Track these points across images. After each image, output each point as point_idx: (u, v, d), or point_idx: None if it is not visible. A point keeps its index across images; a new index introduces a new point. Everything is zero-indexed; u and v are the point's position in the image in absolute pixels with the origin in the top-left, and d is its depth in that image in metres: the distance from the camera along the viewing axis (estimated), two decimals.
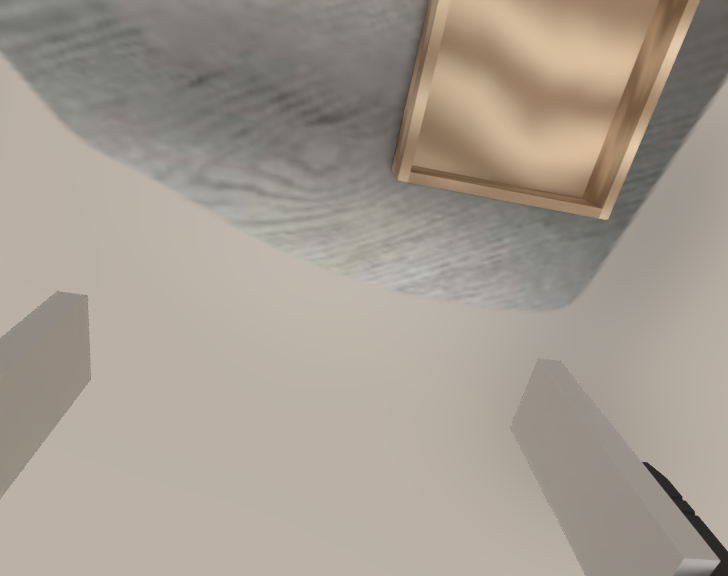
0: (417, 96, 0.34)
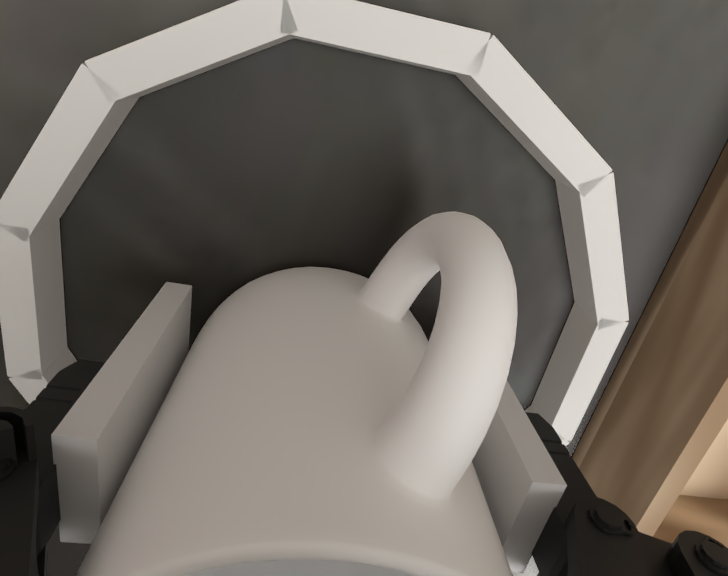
0: None
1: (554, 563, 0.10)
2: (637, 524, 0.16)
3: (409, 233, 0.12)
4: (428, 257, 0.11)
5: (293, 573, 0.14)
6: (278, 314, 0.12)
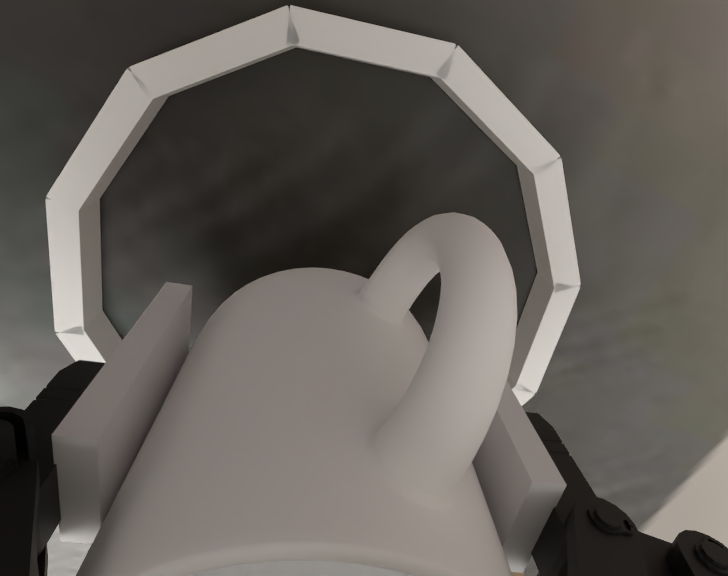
0: None
1: (554, 563, 0.10)
2: None
3: (409, 234, 0.12)
4: (428, 258, 0.11)
5: (293, 573, 0.14)
6: (279, 316, 0.12)
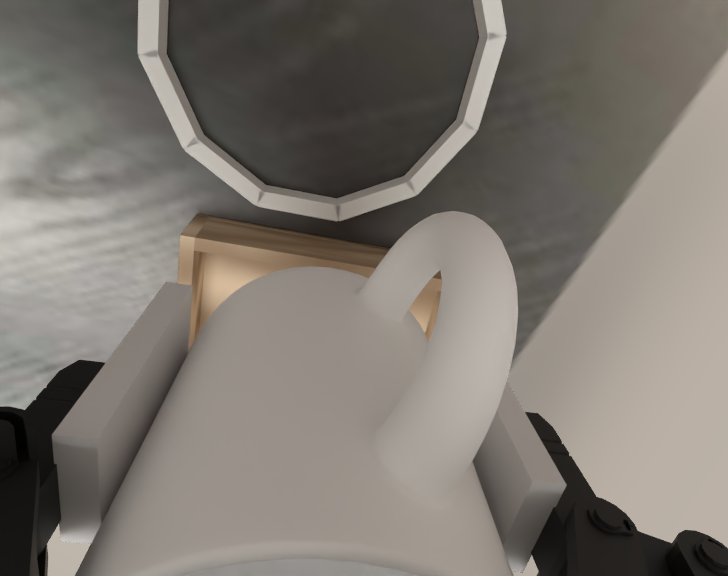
0: None
1: (554, 563, 0.10)
2: (227, 243, 0.27)
3: (409, 233, 0.12)
4: (428, 257, 0.11)
5: (293, 573, 0.14)
6: (279, 314, 0.12)
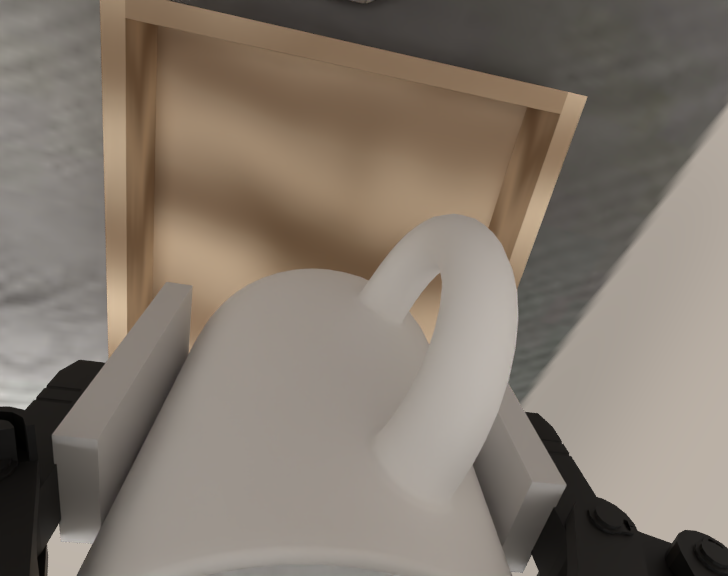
0: (108, 297, 0.20)
1: (554, 563, 0.10)
2: None
3: (410, 235, 0.12)
4: (429, 259, 0.11)
5: (293, 575, 0.14)
6: (278, 317, 0.12)
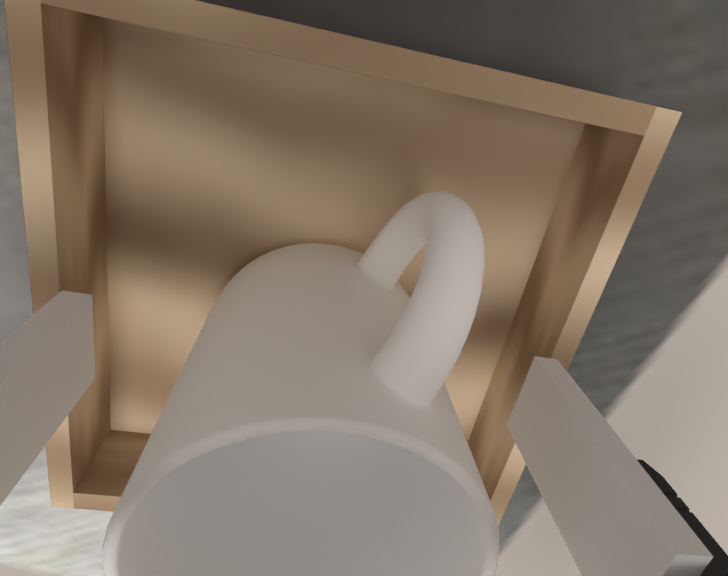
0: None
1: None
2: None
3: (401, 211, 0.14)
4: (416, 229, 0.13)
5: (297, 506, 0.16)
6: (290, 277, 0.14)
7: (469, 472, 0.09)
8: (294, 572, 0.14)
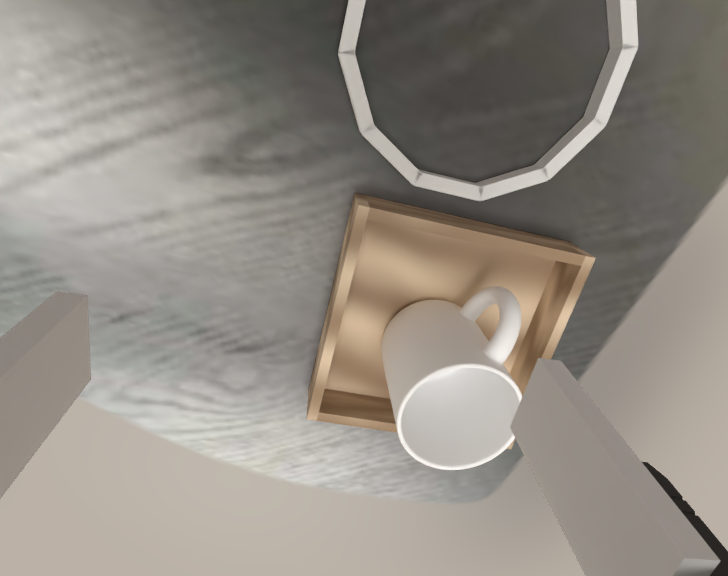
0: (323, 354, 0.36)
1: None
2: (395, 213, 0.32)
3: (483, 291, 0.35)
4: (491, 300, 0.34)
5: (428, 417, 0.36)
6: (437, 317, 0.35)
7: (516, 385, 0.30)
8: (435, 438, 0.34)
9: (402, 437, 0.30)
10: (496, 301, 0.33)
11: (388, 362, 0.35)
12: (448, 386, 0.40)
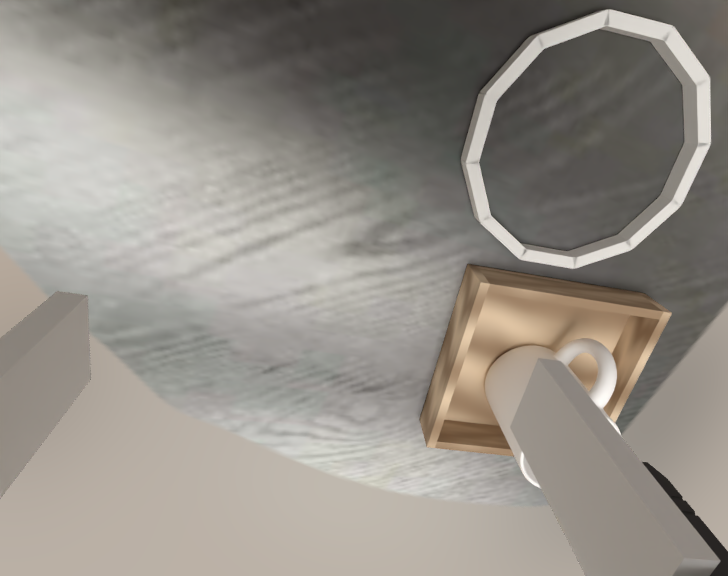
0: (443, 396, 0.43)
1: None
2: (510, 287, 0.39)
3: (577, 342, 0.42)
4: (585, 351, 0.41)
5: None
6: None
7: (616, 425, 0.37)
8: None
9: (523, 468, 0.38)
10: (592, 353, 0.40)
11: (500, 402, 0.42)
12: None
